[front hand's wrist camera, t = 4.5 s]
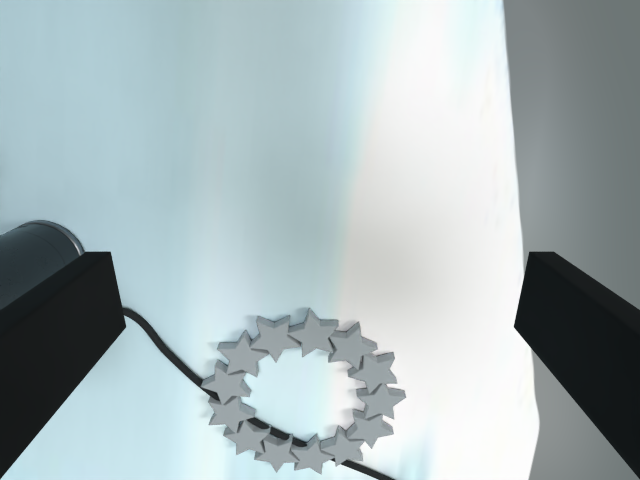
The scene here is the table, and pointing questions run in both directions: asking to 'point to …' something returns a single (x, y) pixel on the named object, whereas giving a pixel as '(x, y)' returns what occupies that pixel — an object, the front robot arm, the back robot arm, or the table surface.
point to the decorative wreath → (312, 337)
